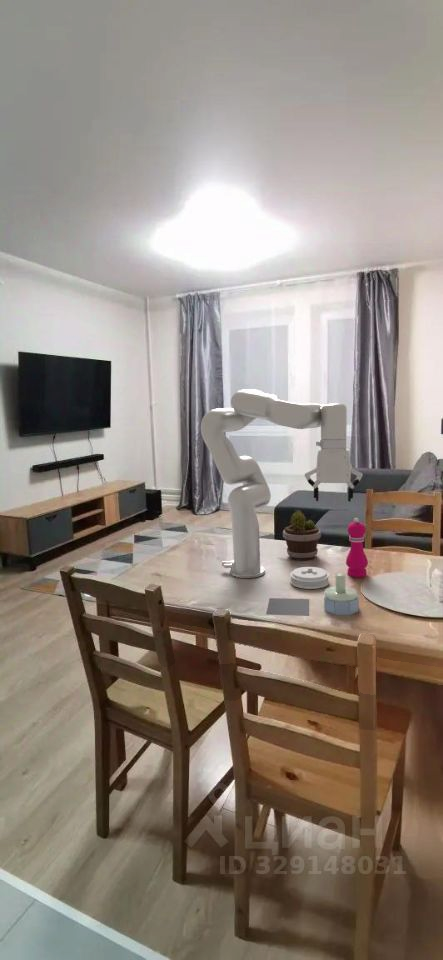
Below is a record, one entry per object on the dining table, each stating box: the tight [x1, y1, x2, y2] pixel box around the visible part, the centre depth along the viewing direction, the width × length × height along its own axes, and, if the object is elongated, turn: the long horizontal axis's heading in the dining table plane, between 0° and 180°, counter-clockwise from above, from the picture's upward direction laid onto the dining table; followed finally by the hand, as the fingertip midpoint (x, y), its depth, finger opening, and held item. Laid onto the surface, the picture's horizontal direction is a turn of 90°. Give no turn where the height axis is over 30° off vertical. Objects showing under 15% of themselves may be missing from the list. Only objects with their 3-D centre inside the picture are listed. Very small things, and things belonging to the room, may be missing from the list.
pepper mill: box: [345, 517, 369, 578], centre depth 166 cm, size 7×7×20 cm
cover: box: [324, 572, 358, 602], centre depth 139 cm, size 9×9×6 cm
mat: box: [265, 597, 310, 617], centre depth 142 cm, size 12×12×1 cm
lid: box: [289, 566, 330, 590], centre depth 160 cm, size 13×13×5 cm
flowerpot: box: [282, 510, 322, 561], centre depth 189 cm, size 14×15×20 cm
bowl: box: [323, 592, 360, 616], centre depth 139 cm, size 9×9×4 cm
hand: (333, 500), depth 150 cm, fingers open, 9 cm apart
